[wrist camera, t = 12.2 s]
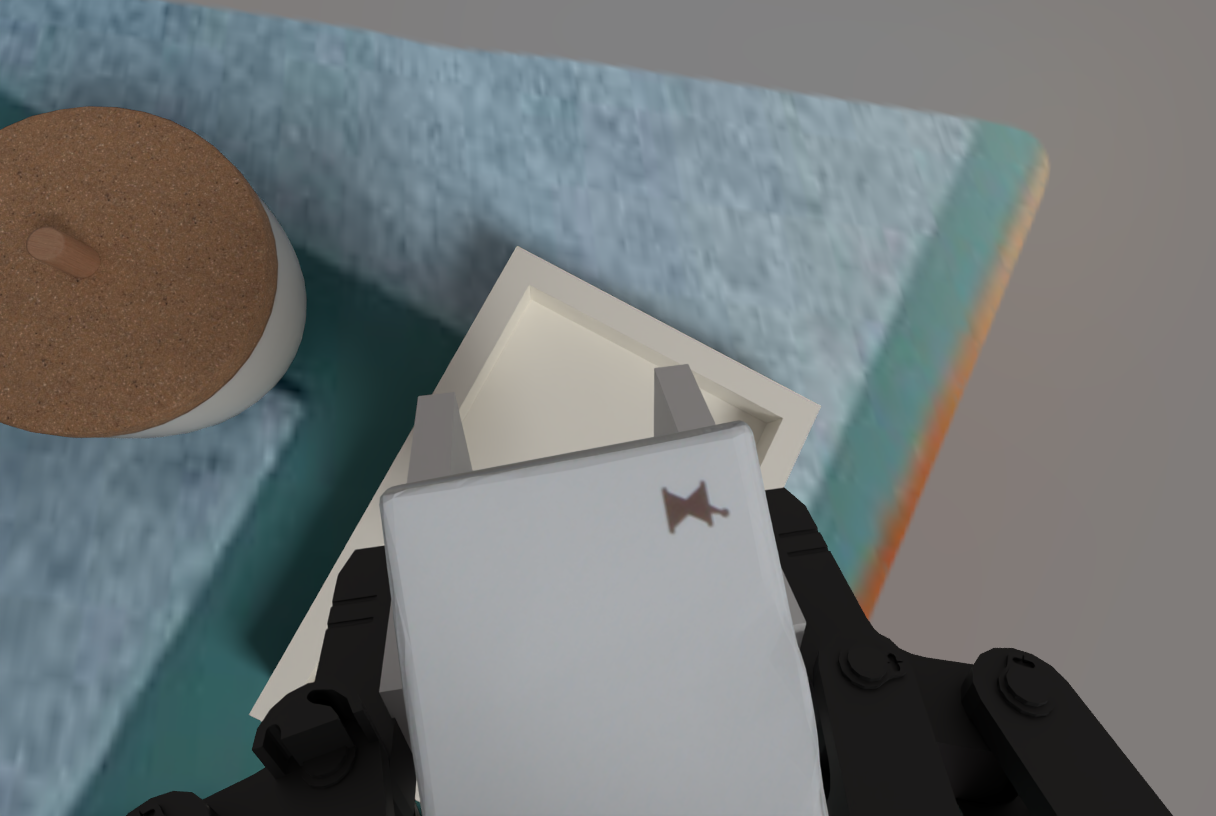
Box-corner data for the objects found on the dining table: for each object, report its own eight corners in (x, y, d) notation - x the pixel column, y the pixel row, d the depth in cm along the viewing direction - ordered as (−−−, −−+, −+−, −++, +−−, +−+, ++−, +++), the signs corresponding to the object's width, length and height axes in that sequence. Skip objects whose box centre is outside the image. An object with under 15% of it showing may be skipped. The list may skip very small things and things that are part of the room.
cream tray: (591, 847, 26) (596, 892, 23) (283, 689, 26) (249, 714, 23) (793, 414, 29) (821, 406, 26) (520, 271, 29) (517, 245, 26)
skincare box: (486, 487, 18) (365, 471, 7) (632, 462, 19) (765, 404, 7) (519, 707, 18) (449, 1132, 6) (671, 675, 18) (890, 1012, 6)
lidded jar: (128, 182, 28) (-80, 30, 19) (372, 240, 29) (286, 120, 19) (44, 420, 27) (-228, 381, 17) (304, 477, 27) (176, 468, 18)
